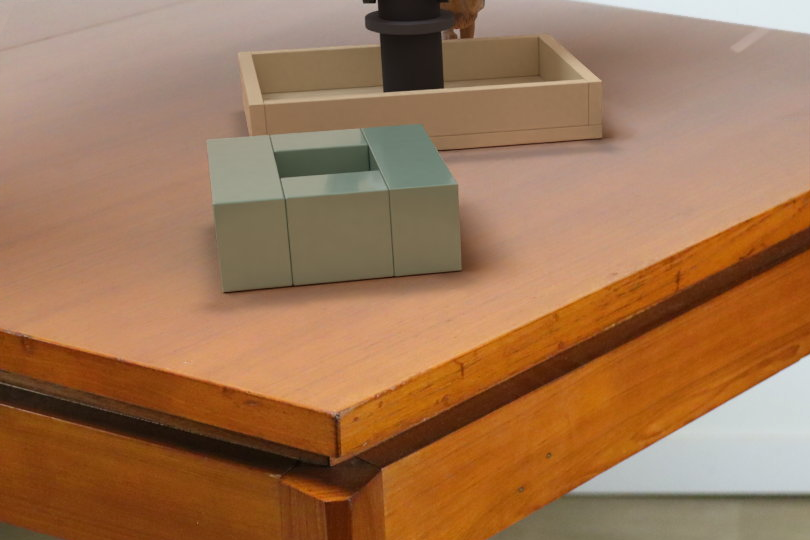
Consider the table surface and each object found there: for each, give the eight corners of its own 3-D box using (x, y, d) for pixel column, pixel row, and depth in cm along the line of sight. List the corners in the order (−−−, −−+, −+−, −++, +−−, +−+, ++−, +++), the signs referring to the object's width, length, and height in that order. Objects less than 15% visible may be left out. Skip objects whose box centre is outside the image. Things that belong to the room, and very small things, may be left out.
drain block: (222, 292, 65) (212, 203, 63) (214, 218, 74) (205, 139, 72) (462, 270, 67) (458, 183, 65) (425, 201, 76) (421, 123, 75)
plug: (376, 112, 87) (363, -86, 83) (365, 90, 92) (352, -98, 87) (464, 105, 88) (456, -90, 84) (449, 85, 93) (441, -102, 88)
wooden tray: (254, 164, 83) (248, 104, 81) (243, 104, 95) (237, 52, 93) (602, 138, 87) (602, 81, 85) (549, 84, 99) (548, 33, 97)
